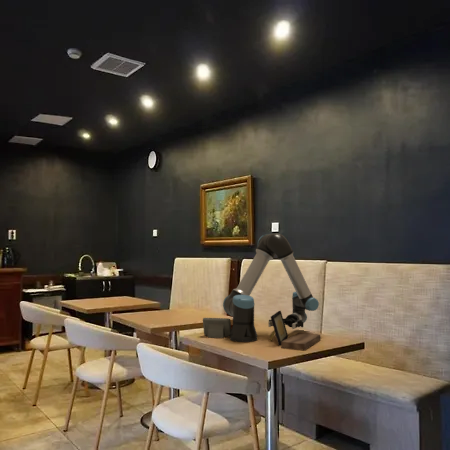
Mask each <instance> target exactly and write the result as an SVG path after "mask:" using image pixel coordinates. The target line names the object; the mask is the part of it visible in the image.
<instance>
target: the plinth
mask: <svg viewBox="0 0 450 450" xmlns="http://www.w3.org/2000/svg"><path fill="white" fill-rule="evenodd" d="M320 341H321V334H319V333H307V332H306V333H305V332H298V333H296V334H293V335H291V336H290V337H289V336H288V338H287V339H286V340H284V341H282V342H281V346H280V347H281V349H289V350H290V349H291V350H298V351H306V350H307V349H309V348H311V347H312V346H314V345H315V344H316V343H319V342H320Z"/></svg>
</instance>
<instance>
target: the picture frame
mask: <svg viewBox="0 0 450 450" xmlns="http://www.w3.org/2000/svg"><path fill="white" fill-rule="evenodd" d="M283 319H284V317H283V314H282V310H278V311H276V312H275V313H274V314H272V315H271V316H270V320H272V324H273V326H272V327H273V330H272V332H271V334H270V336H269V339H268V341H269V340H270V342H272V341H273V338H274V337H276V341H277V345H278V346H279V347H281V342H282V341H284V340H286V339H288V338H289V334H288V331H287V330H288V329H287V327H286V325H285V323H284V320H283Z"/></svg>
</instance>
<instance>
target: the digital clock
mask: <svg viewBox="0 0 450 450" xmlns="http://www.w3.org/2000/svg"><path fill="white" fill-rule="evenodd" d="M202 324H203V325H202V326H203V335H204V336H207V338H208V339H224V338H225V337H230V333H231V329H232V321H231V319H230V318H227V317H226V318H224V317H222V318H221V317H203V318H202Z"/></svg>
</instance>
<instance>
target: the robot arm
mask: <svg viewBox="0 0 450 450" xmlns="http://www.w3.org/2000/svg"><path fill="white" fill-rule="evenodd" d="M255 253H256V254H255V255H254V257H253V258H252V260H251V262H250V264H249V266H248V268H247V270H246V272H245V273H244V275H243V277H242V278H241V280H240V282H239V284H238V285H237V287H236V288H233V289H232V291H231V292H230V293H229V295H227V296H226V297H225V298H224V300H223V301H222V306H223V307H222V308H223V311H224V312H225V313H226V314H227V315H229V316H230V317H232V325H231V333H230V336H229V340H230V341H232V342H238V343H249V342H251V343H252V342H256V341H257V340H258V333H257V330H256V327H255V299H254V297H253V296H251V294H252V292H253V291H254V288H255V286H256V285H257V283H258V281H259V280H260V277H261V276H262V275H263V273H264V270H265V269H266V267H267V266H268V264H269V261H272V260H273V259H274V258H275V257H276V258H277V260H279V261H281V264H282V266H283V268H284V270H285V272H286V274H287V276H288V279H289V280H290V282H291V284H292V286H293V289H294V290H295V291H293V292H292V297H291V299H292V300H291V301H292V312H291V314H288V315H286V318H283V320H284V323H285V326H287V327H289V328H291V329H292V330H294V329H297V328H304V323H305V322H307V319H308V315H307V313H306V311H310V312H313V311H316V310H317V309H318V308H319V306H320V305H319V304H320V303H319V301H318V299H317V298H315V297H314V296H313V294H312V292H311V289H310V288H309V286H308V284H307V282H306V280H305V277H304V275H303V273H302V271H301V269H300V267H299V265H298V263H297V260H296V258H295V257H294V250H293V248H292V246H291V243H290V242H289V241H288V239H287V238H286V236H284V235H283V234H281V233H266V234H263V235H261V236H260V237H259V239H258V241H257V247H256V249H255ZM271 327H273V324H272V320H271V319H269V320H268V328H271Z"/></svg>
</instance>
